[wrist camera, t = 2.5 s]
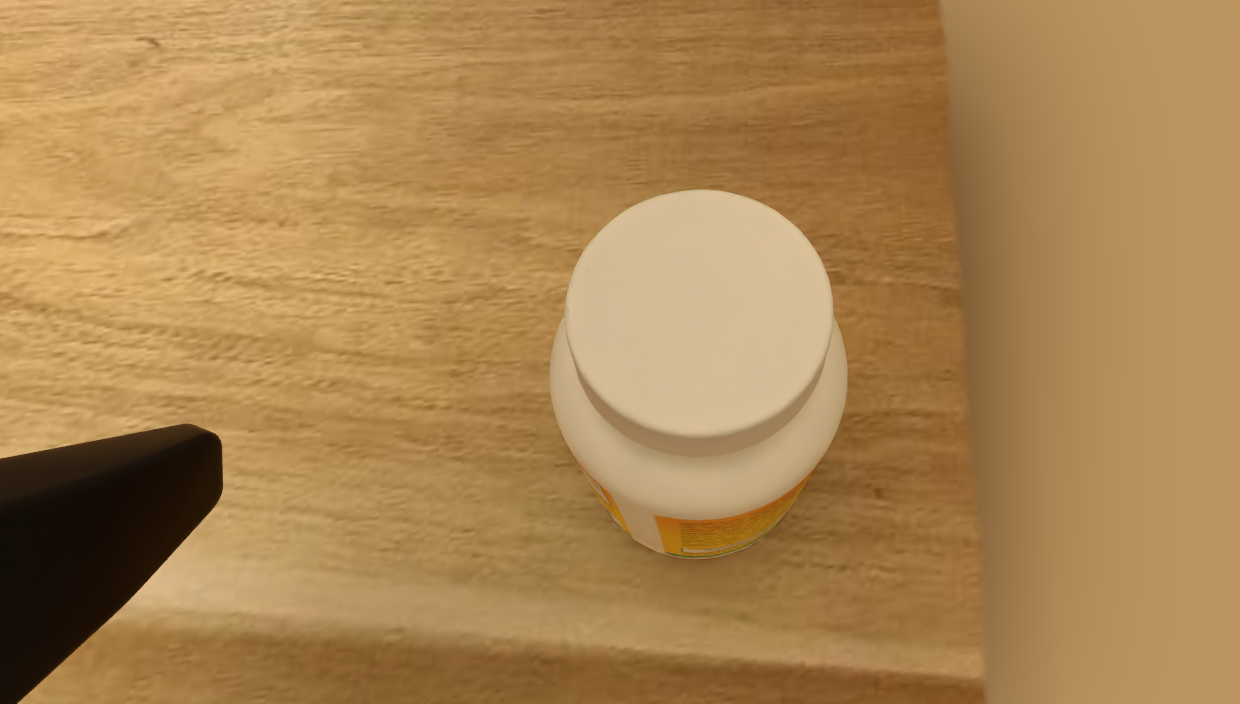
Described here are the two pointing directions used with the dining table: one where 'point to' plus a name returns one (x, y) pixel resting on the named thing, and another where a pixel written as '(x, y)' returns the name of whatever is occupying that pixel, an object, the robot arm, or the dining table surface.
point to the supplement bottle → (698, 370)
